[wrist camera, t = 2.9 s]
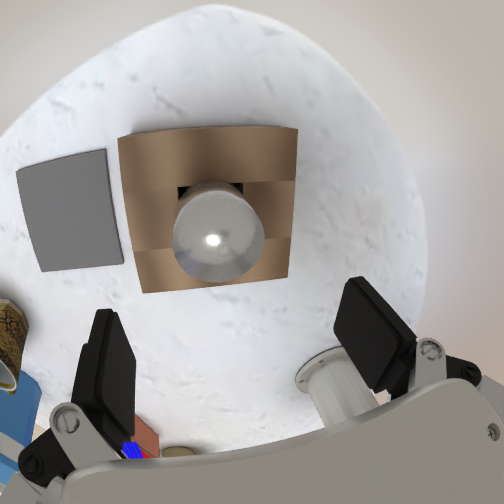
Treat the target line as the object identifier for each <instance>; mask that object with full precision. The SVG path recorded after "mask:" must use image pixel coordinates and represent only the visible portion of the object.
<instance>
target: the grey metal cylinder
mask: <svg viewBox="0 0 504 504" xmlns="http://www.w3.org/2000/svg"><path fill="white" fill-rule="evenodd" d="M264 240H265V237H264V229H263V226H262V223H261V221H260V219H259V217H258V216H257V215H256V213H255V212H254V210H253V209H252V207H251V206H250V205H249V203H248V202H247V200H246V199H245V197H244V196H243V195H242V193H241V192H240V191H239V190H238V189H237V188H236V187H234V186H233V185H231V184H229V183H227V182H224V181H220V180H206V181H202V182H199V183H197V184H195V185H193V186H189V187H188V188H187V190H186V191H185V192H184V193H183V195H182V196H181V197H180V199H179V201H178V203H177V205H176V209H175V218H174V229H173V241H172V244H173V252H174V255H175V258H176V260H177V262H178V263H179V265H180V266H181V267H182V268H183V269H184V271H186V272H187V273H188V274H189V275H191V276H193V277H194V278H197V279H199V280H202V281H206V282H225V281H229V280H233V279H235V278H238V277H240V276H241V275H243V274H245V273H246V272H247V271H249V270H250V269H251V268H252V267H253V266H254V265H255V263H256V262H257V261H258V259H259V257H260V255H261V253H262V250H263V247H264Z"/></svg>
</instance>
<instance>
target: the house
mask: <svg viewBox="0 0 504 504" xmlns="http://www.w3.org/2000/svg"><path fill="white" fill-rule="evenodd" d="M122 451H123V452H124V454H125V455H126V456H127V457H128V458H129V459H139V458H160V450H159V436H158V435H157V434H156V433H155V432H154V431H153V430H152V429H151V428H149V427H148V426H147V425H146V424H145V423H144V422H143V421H142V420H141V419H140V418H139V417H138V416H137V415H136V414H135V435H134V436H131V443H123V449H122Z"/></svg>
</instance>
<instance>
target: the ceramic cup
mask: <svg viewBox="0 0 504 504" xmlns="http://www.w3.org/2000/svg"><path fill="white" fill-rule="evenodd" d="M28 328H29V326H28V323H27V320H26V318H25V315H24V313H23V311H22V310H21V309H20V308H18V307H17V306H16V305H15V304H14V303H13V302H12V301H11V300H8V299H2V298H0V389H2V390H5V391H6V392H7V393H8V394H10V395H14V394H15V393H16V390H17V386H18V380H19V375H20V369H21V361H22V354H23V350H24V345H25V340H26V336H27V333H28Z"/></svg>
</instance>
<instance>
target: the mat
mask: <svg viewBox="0 0 504 504" xmlns="http://www.w3.org/2000/svg"><path fill="white" fill-rule="evenodd" d="M16 177H17V183H18V188H19V194H20V198H21V203H22V208H23V212H24V216H25V220H26V224H27V228H28V231H29V235H30V238H31V242H32V245H33V248H34V251H35V254H36V257H37V260H38V263H39V266H40V269H41V271H42V272H49V271H59V270H69V269H79V268H89V267H99V266H109V265H119V264H123V263H124V258H123V254H122V249H121V245H120V240H119V235H118V230H117V225H116V220H115V214H114V208H113V202H112V195H111V189H110V181H109V173H108V164H107V155H106V149H102V150H97V151H92V152H87V153H82V154H77V155H73V156H68V157H64V158H60V159H56V160H52V161H48V162H45V163H41V164H37V165H34V166H30V167H27V168H24V169H21V170H18V171H16Z"/></svg>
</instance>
